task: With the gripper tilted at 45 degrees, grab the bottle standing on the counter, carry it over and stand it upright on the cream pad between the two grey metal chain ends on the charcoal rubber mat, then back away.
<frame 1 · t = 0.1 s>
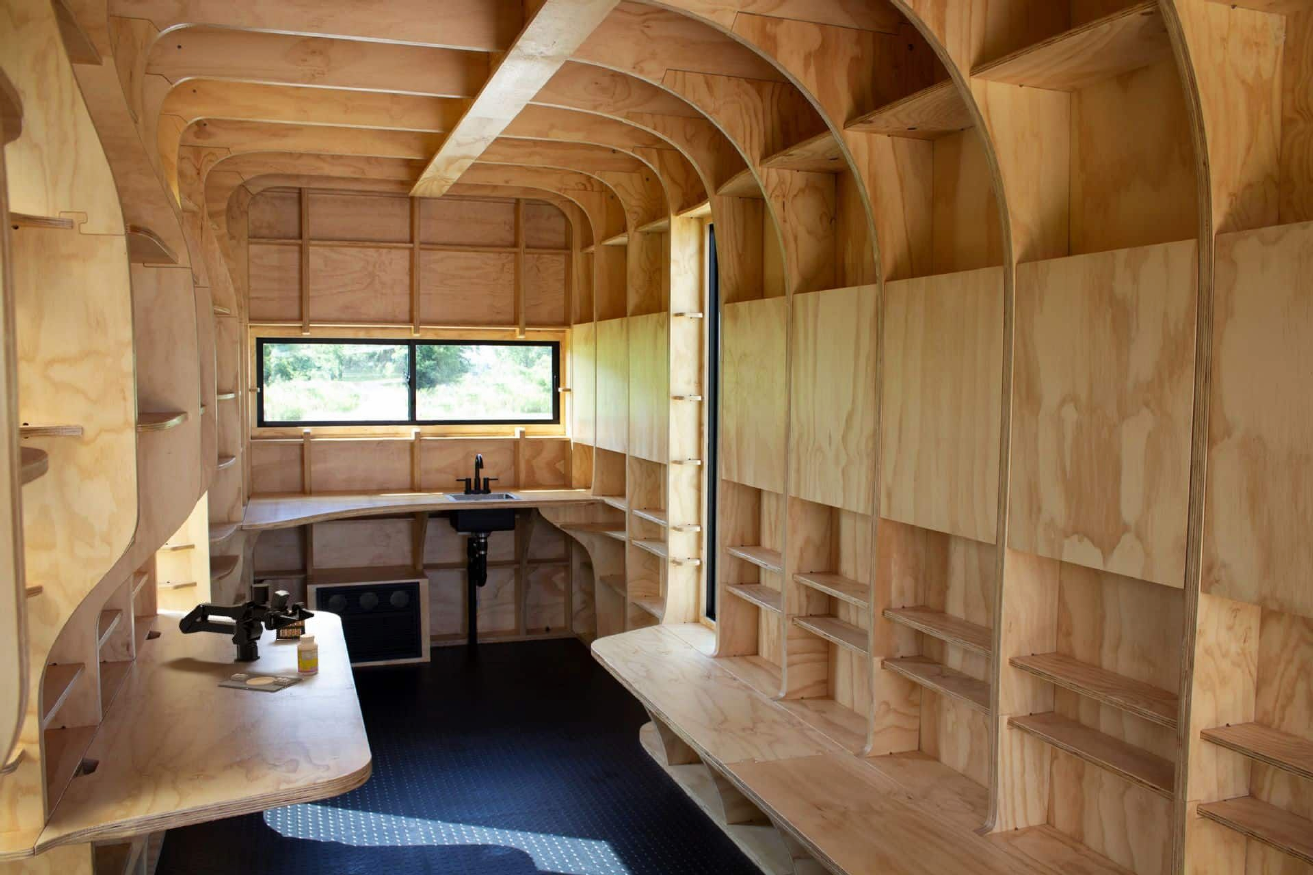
hand: (305, 617, 381), 17 cm above the table, tool horizontal, fingers open, 9 cm apart
ammunition clip: (290, 639, 421), on the table
supplement bottle: (308, 673, 372), on the table
chain mat: (261, 683, 361), on the table
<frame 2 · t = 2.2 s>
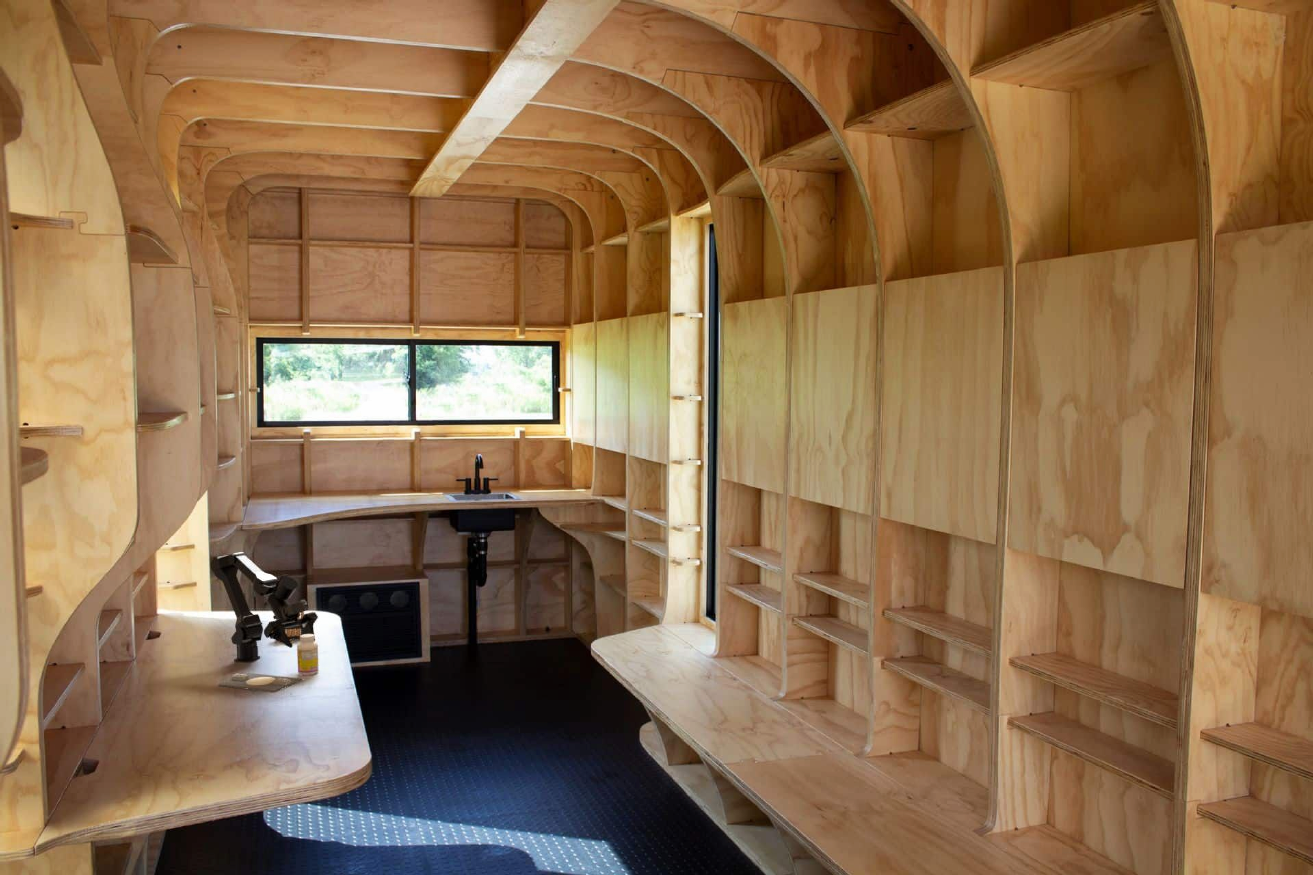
hand: (303, 644, 373), 10 cm above the table, tool tilted 45°, fingers open, 9 cm apart
nothing on the table moved.
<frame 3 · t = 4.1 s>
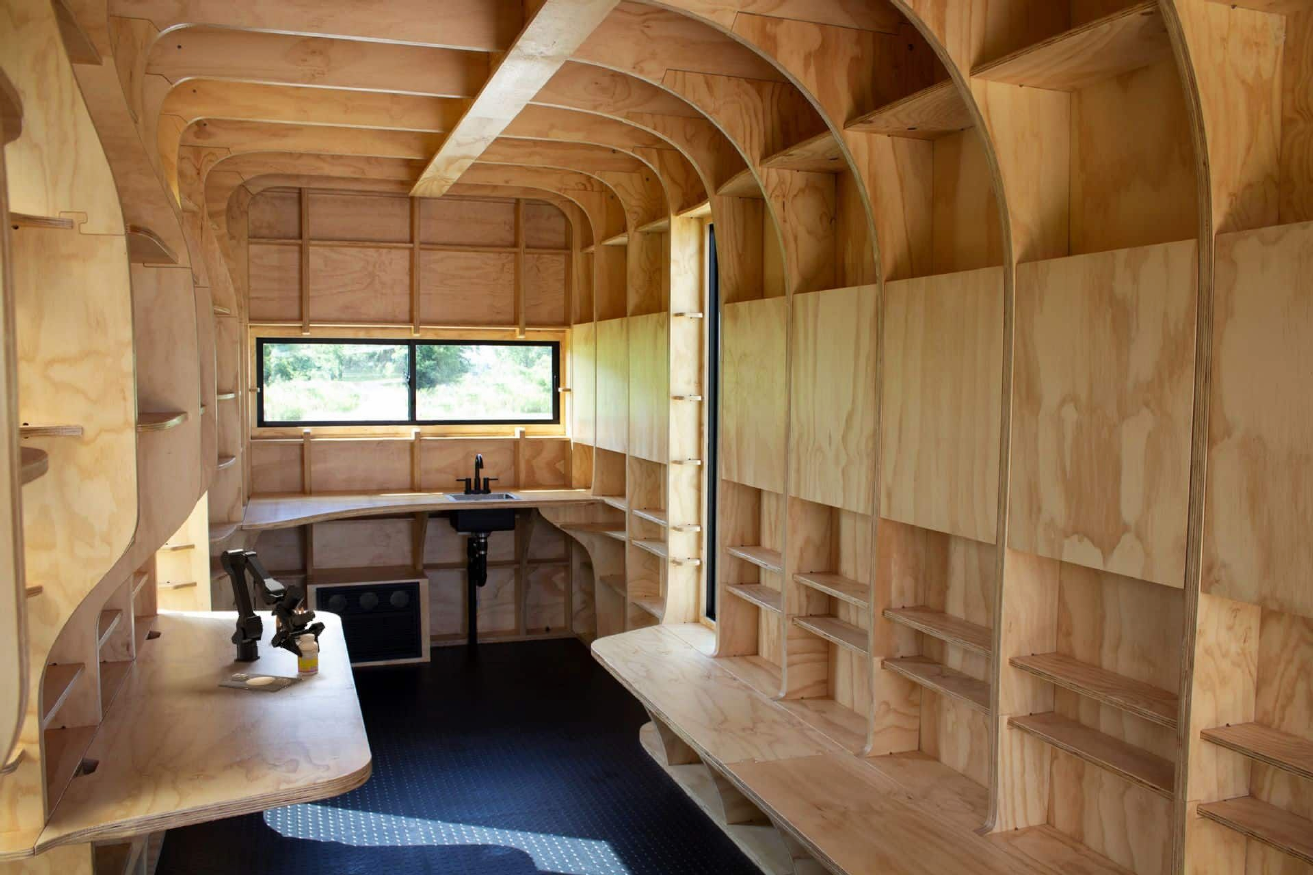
hand: (310, 654, 371), 7 cm above the table, tool tilted 45°, fingers closed on supplement bottle, 7 cm apart
supplement bottle: (308, 673, 372), on the table, touching gripper
everything else where it was.
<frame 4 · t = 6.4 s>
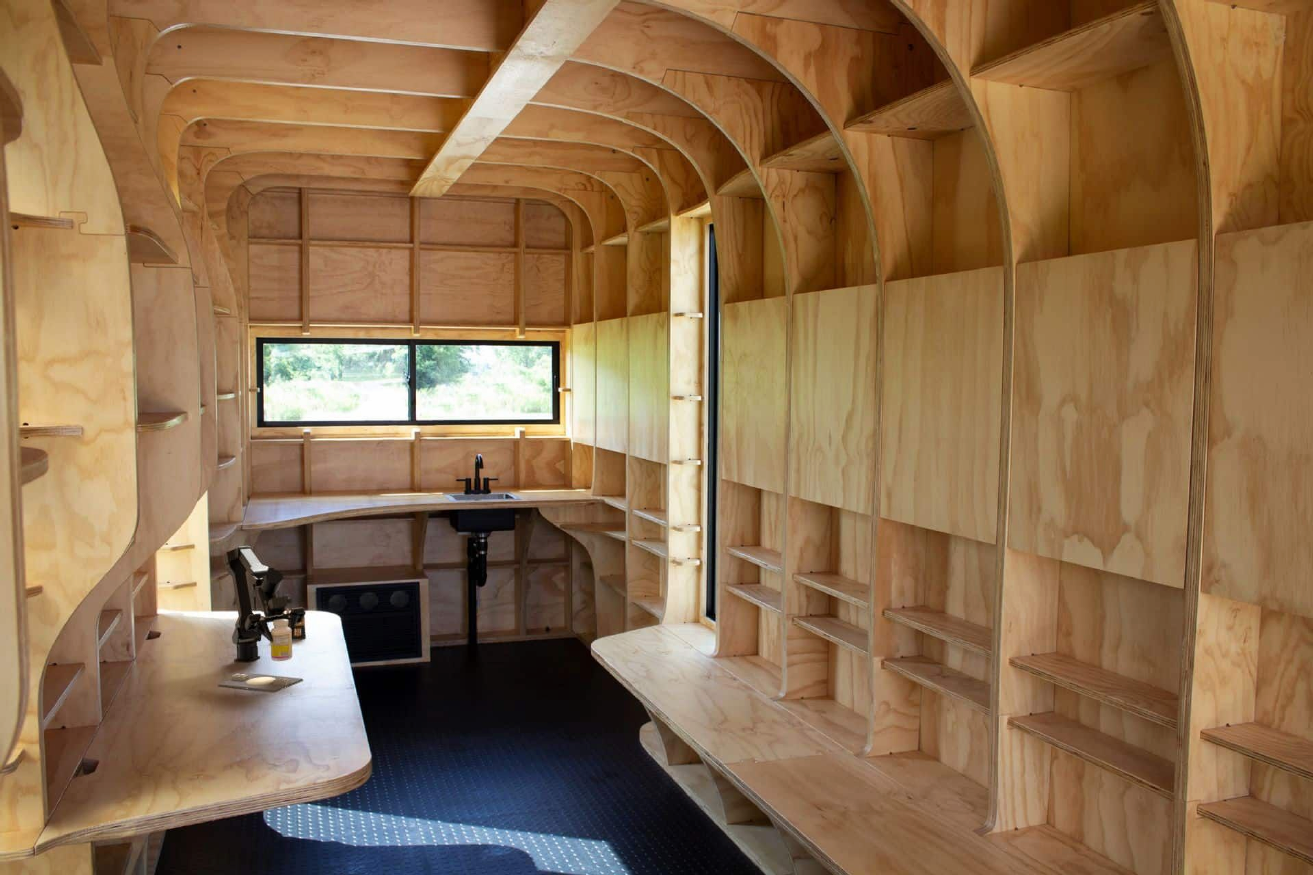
hand: (282, 639, 363), 13 cm above the table, tool tilted 45°, fingers closed on supplement bottle, 7 cm apart
supplement bottle: (281, 659, 365), point 7 cm above the table, touching gripper
everything else where it was.
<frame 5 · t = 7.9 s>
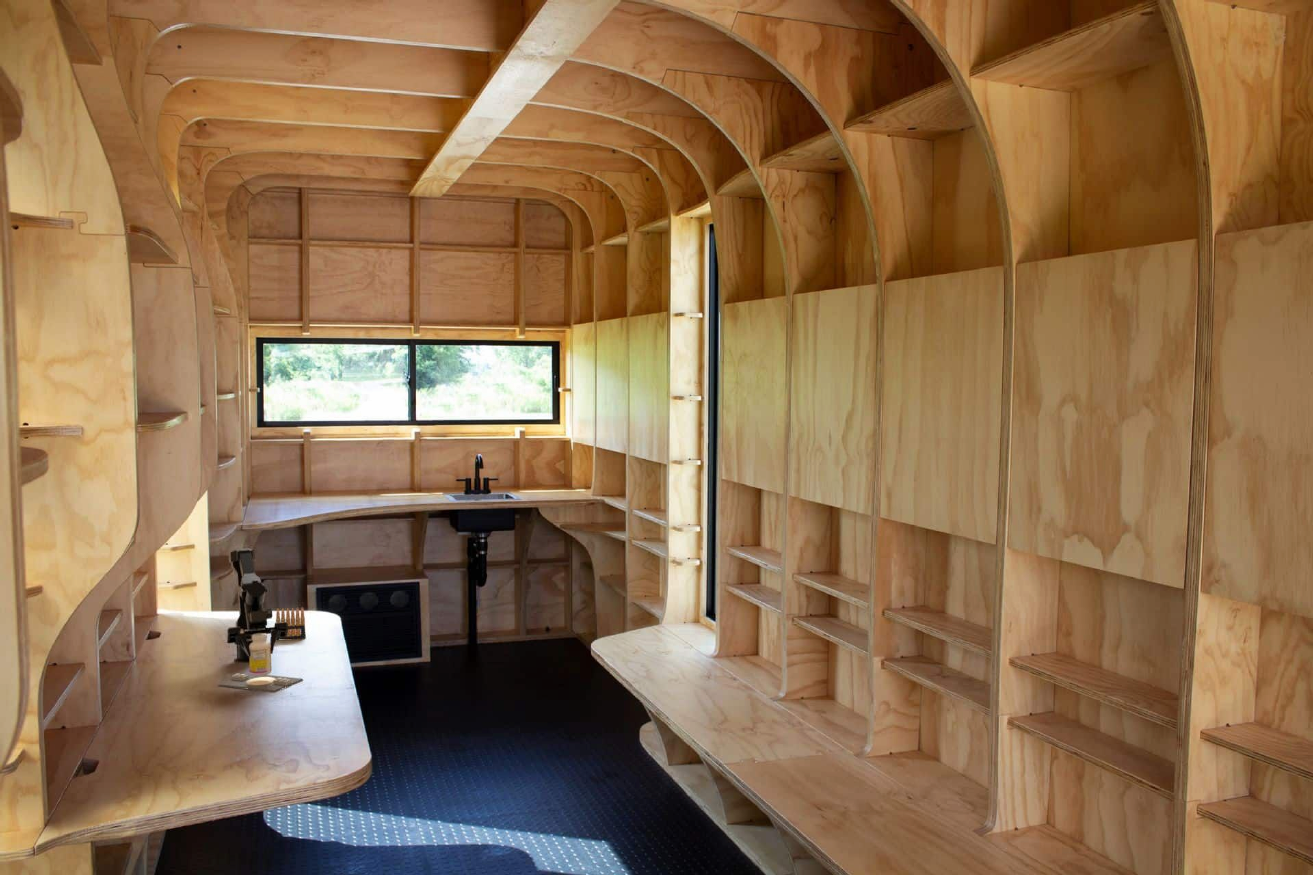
hand: (260, 654, 359), 10 cm above the table, tool tilted 45°, fingers closed on supplement bottle, 7 cm apart
supplement bottle: (260, 674, 361), point 3 cm above the table, touching gripper
everything else where it was.
when the fingers open (9 cm above the table, at t = 9.1 s): supplement bottle drops 1 cm, resting on chain mat.
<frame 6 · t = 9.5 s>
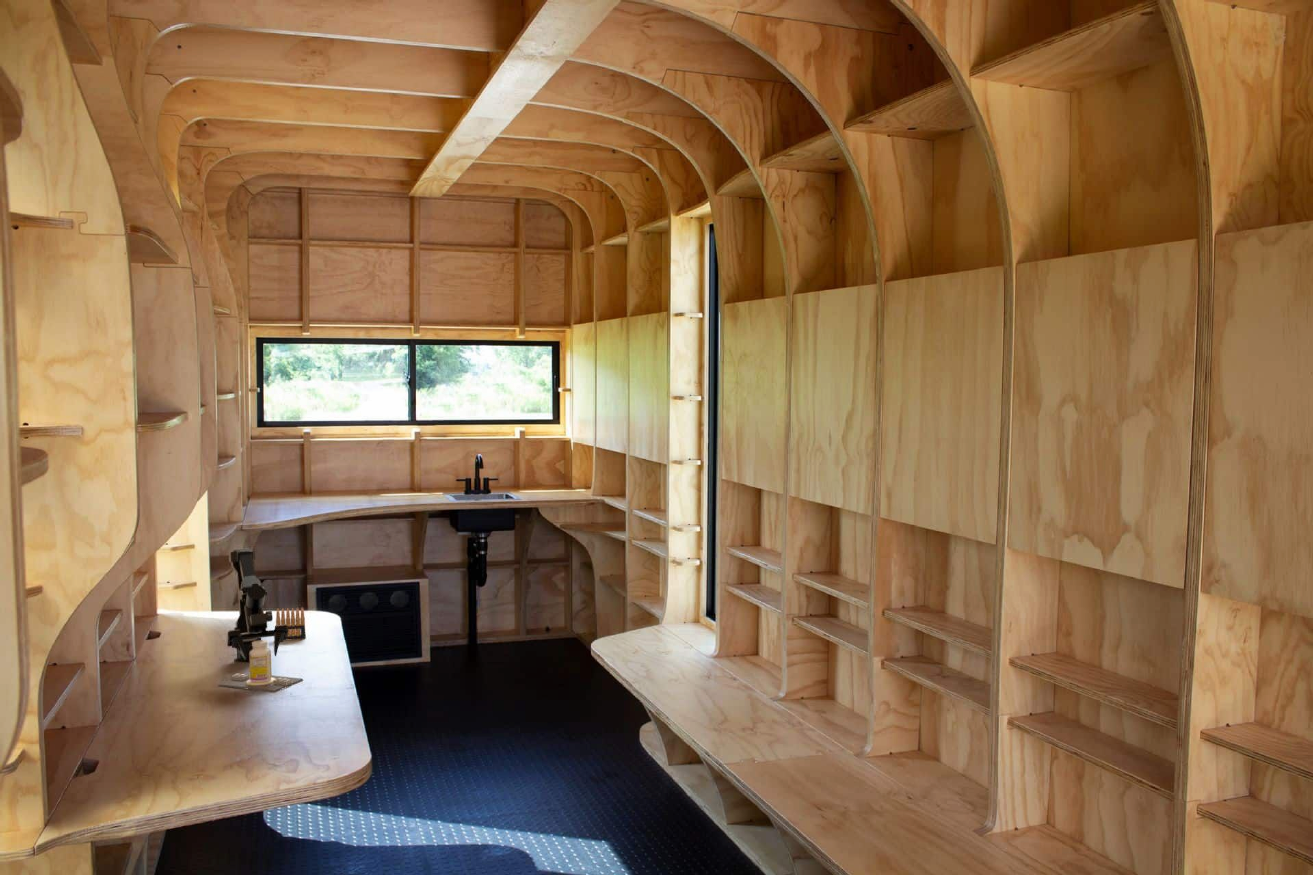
hand: (260, 657, 359), 9 cm above the table, tool tilted 45°, fingers open, 9 cm apart
supplement bottle: (260, 681, 361), point 1 cm above the table, touching chain mat
everything else where it was.
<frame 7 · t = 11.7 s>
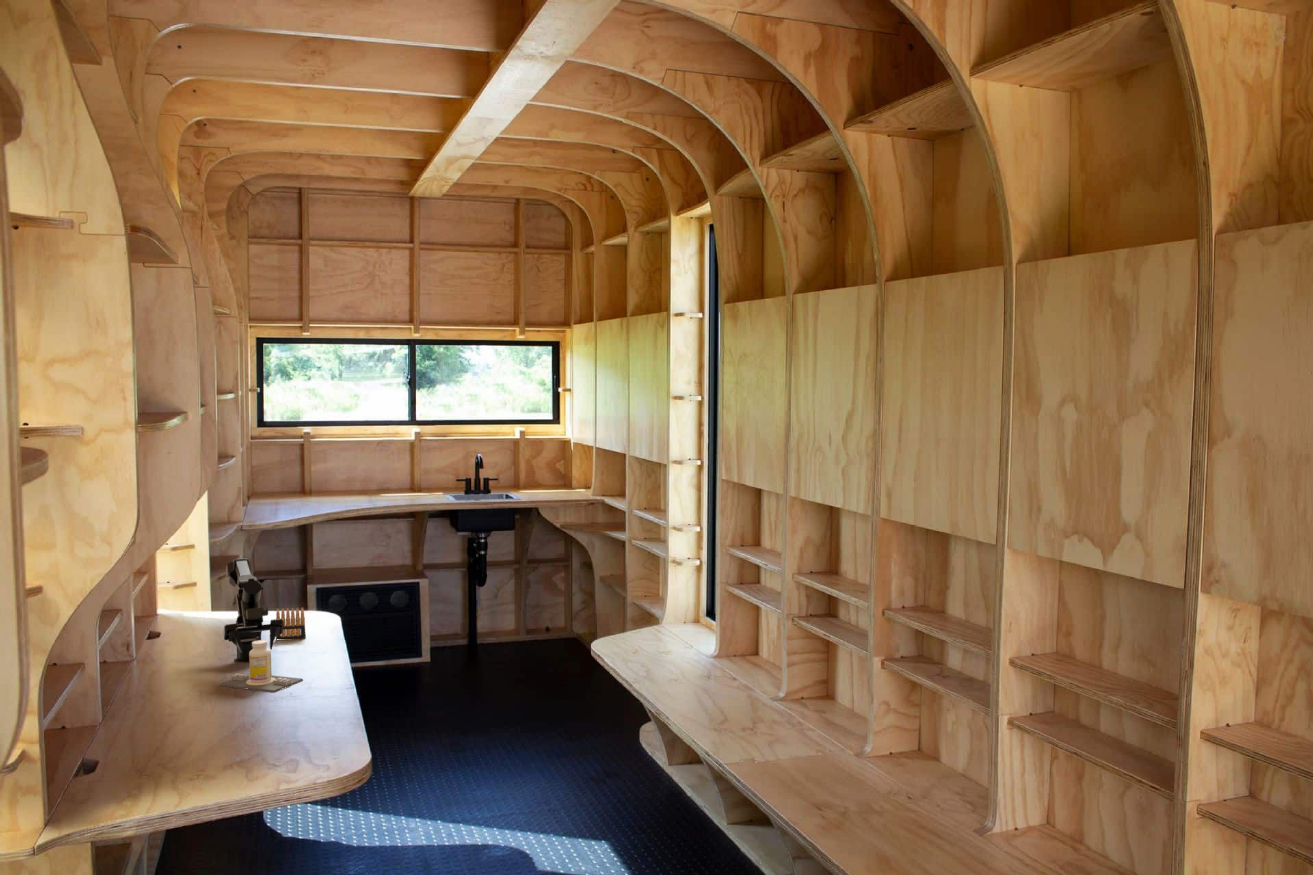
hand: (256, 650, 367), 9 cm above the table, tool tilted 45°, fingers open, 9 cm apart
nothing on the table moved.
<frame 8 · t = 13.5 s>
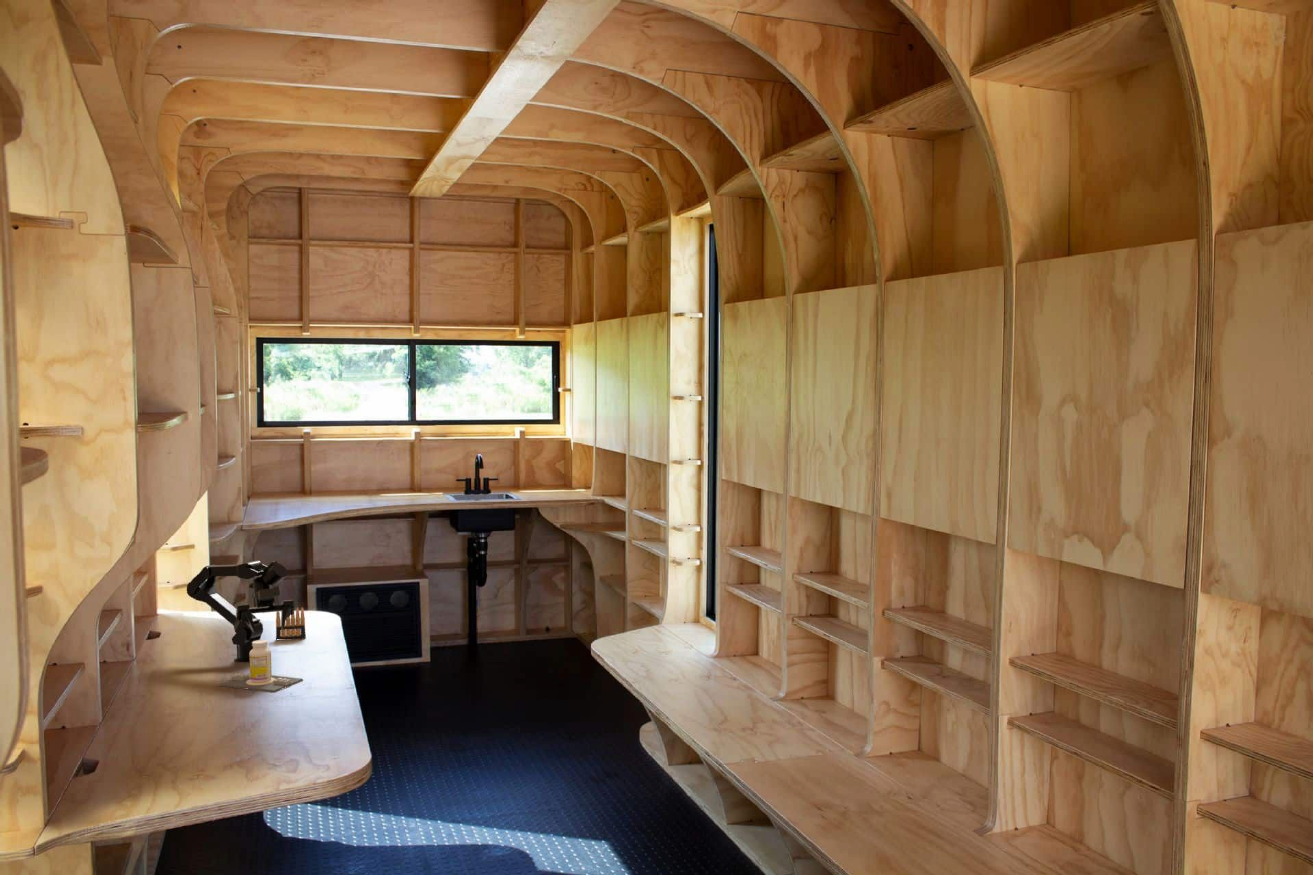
hand: (268, 630, 376), 14 cm above the table, tool tilted 45°, fingers open, 9 cm apart
nothing on the table moved.
at the end: supplement bottle 0.1 cm off-centre on the chain mat, point 0.6 cm above the chain mat's base; supplement bottle tilted 1°; the gripper is holding nothing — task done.
